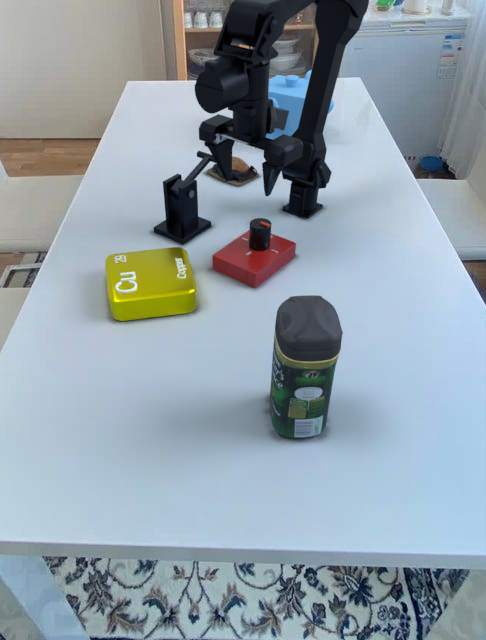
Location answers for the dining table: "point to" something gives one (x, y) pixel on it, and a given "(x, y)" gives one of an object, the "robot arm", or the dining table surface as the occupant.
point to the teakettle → (289, 100)
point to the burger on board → (236, 172)
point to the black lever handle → (193, 172)
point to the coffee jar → (303, 365)
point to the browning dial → (259, 234)
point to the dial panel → (253, 259)
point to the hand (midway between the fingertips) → (247, 187)
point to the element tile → (150, 284)
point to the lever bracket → (181, 213)
